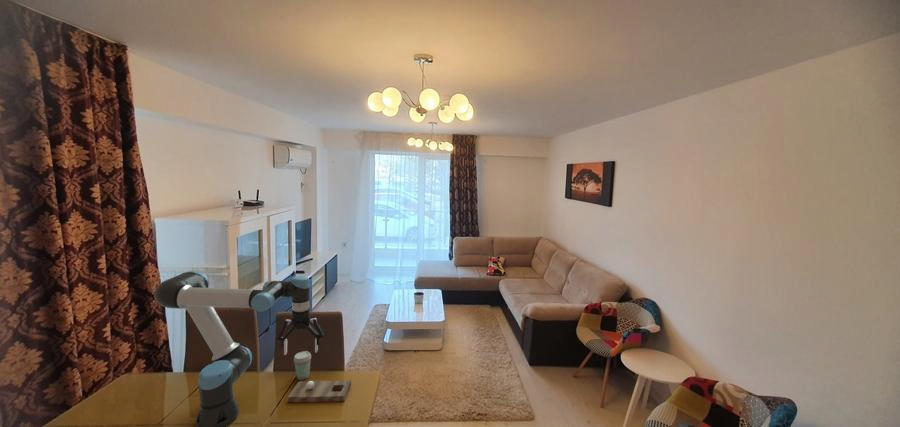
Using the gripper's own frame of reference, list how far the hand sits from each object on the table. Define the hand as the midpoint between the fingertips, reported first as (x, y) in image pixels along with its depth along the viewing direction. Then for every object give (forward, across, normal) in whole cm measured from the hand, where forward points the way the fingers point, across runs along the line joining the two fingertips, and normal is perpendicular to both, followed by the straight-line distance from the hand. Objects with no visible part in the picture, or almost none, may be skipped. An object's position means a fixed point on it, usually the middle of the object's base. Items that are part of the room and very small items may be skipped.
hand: (301, 352), depth 155 cm
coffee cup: (+22, -2, +15) cm, 27 cm away
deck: (+21, +9, -1) cm, 23 cm away
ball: (+17, +4, 0) cm, 17 cm away
